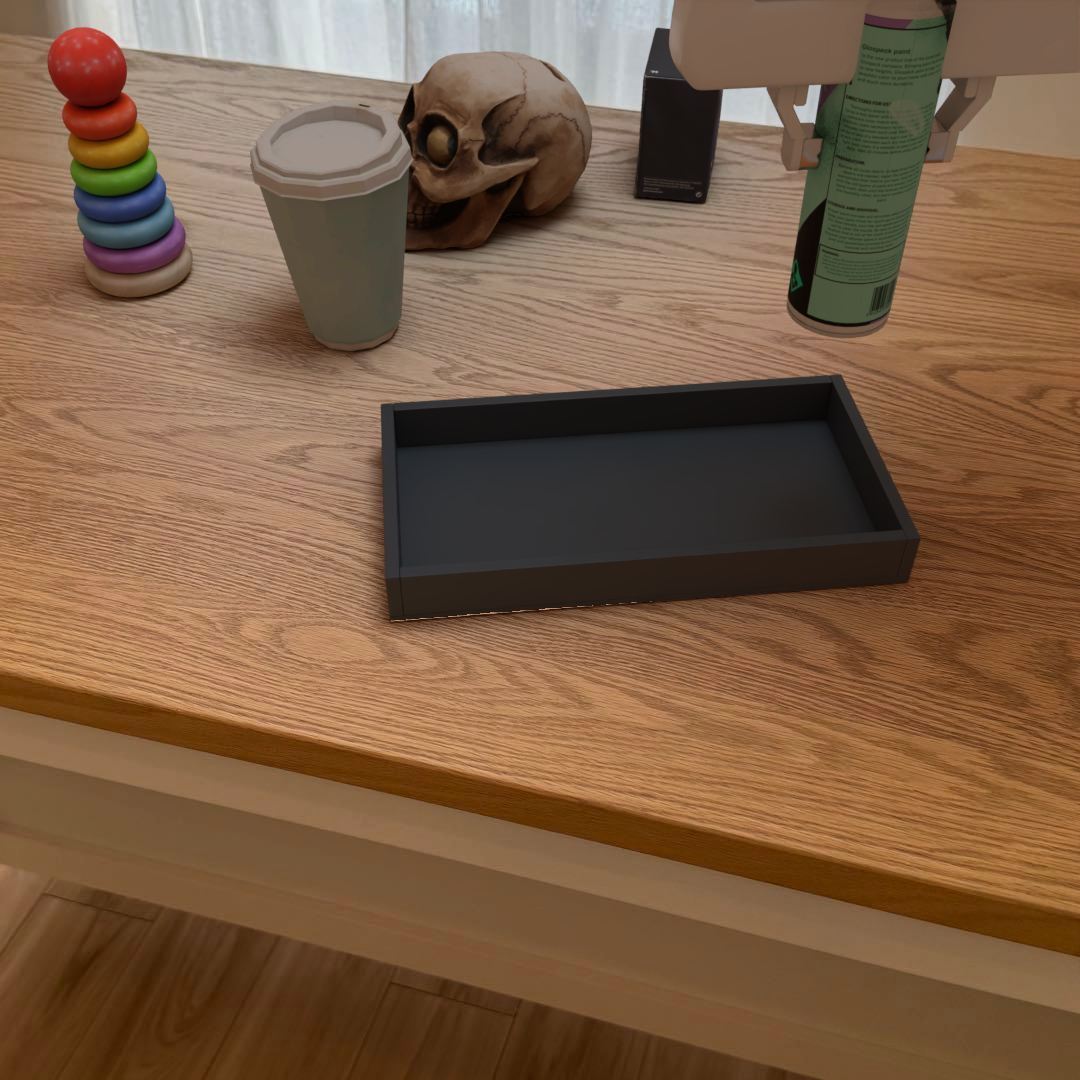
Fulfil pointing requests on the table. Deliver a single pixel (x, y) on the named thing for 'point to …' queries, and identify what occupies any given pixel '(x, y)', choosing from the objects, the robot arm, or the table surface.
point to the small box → (675, 130)
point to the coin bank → (489, 145)
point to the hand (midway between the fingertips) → (865, 162)
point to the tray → (635, 497)
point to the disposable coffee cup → (339, 215)
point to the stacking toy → (115, 172)
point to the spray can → (868, 170)
